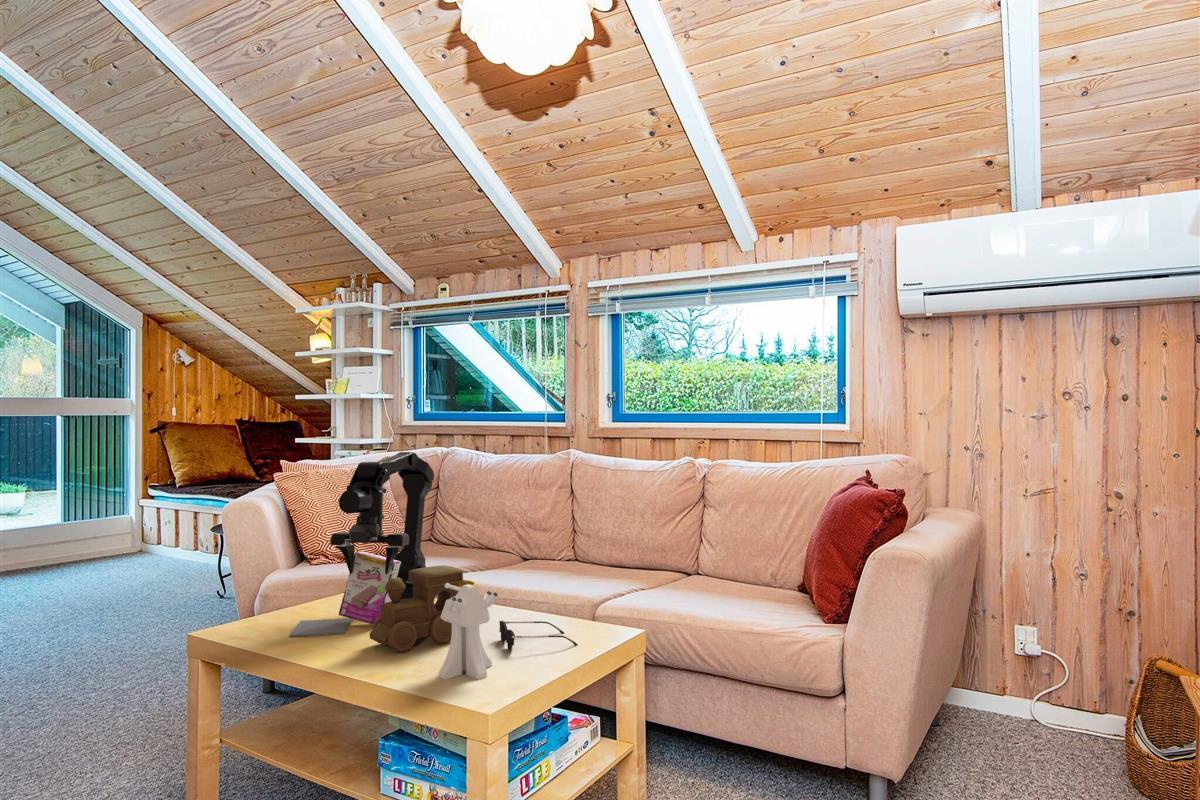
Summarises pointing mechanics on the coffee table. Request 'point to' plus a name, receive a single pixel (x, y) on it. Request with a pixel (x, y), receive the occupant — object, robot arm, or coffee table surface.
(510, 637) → the sunglasses
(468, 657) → the toy gun turret
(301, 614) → the coffee table surface
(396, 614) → the wooden toy train
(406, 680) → the coffee table surface
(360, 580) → the candy bar box
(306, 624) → the mat
